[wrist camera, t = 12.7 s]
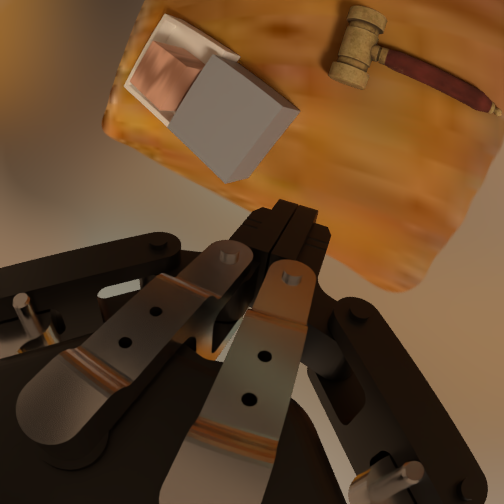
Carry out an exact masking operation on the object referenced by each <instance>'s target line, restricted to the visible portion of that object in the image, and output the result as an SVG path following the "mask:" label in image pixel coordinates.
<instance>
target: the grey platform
mask: <svg viewBox="0 0 504 504" xmlns="http://www.w3.org/2000/svg"><path fill="white" fill-rule="evenodd" d="M299 113H300V110H299V109H297V108H296V107H295V106H294V105H293V104H291V103H290V102H289V101H288V100H286V99H285V98H284V97H283V96H281V95H280V94H279V93H277V92H276V91H275V90H274V89H272V88H271V87H270V86H268V85H267V84H266V83H264V82H263V81H262V80H261V79H259V78H258V77H256V76H255V75H254V74H252V73H251V72H250V71H248V70H247V69H246V68H244V67H243V66H241V65H240V64H239V63H237V62H235V61H232V60H229V59H226V58H223V57H220V56H217V55H214V54H212V56H211V57H210V59H209V60H208V62H207V63H206V65H205V66H204V68H203V69H202V71H201V72H200V74H199V75H198V77H197V79H196V80H195V82H194V83H193V85H192V86H191V88H190V90H189V91H188V93H187V94H186V96H185V98H184V99H183V101H182V103H181V104H180V106H179V108H178V109H177V111H176V113H175V114H174V116H173V118H172V120H171V121H170V123H169V125H168V127H167V128H168V129H169V130H170V131H171V132H172V133H174V134H175V135H176V136H177V137H178V138H179V139H180V140H181V141H182V142H183V143H184V144H185V145H186V146H187V147H188V148H189V149H190V150H191V151H192V152H193V153H194V154H195V155H196V156H197V157H199V158H200V159H201V160H202V161H203V162H204V163H205V164H206V165H207V166H208V167H209V168H210V169H211V170H212V171H213V172H214V173H215V174H216V175H217V176H218V177H219V178H220V179H221V180H222V181H223V182H224V183H225V184H226V183H230V182H234V181H238V180H242V179H246V178H248V177H249V176H250V175H251V173H252V172H253V171H254V170H255V168H256V167H257V166H258V164H259V163H260V162H261V161H262V159H263V158H264V157H265V155H266V154H267V153H268V152H269V150H270V149H271V148H272V146H273V145H274V144H275V143H276V141H277V140H278V139H279V138H280V136H281V135H282V134H283V133H284V131H285V130H286V129H287V128H288V126H289V125H290V124H291V123H292V121H293V120H294V119H295V118H296V116H297V115H298V114H299Z"/></svg>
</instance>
